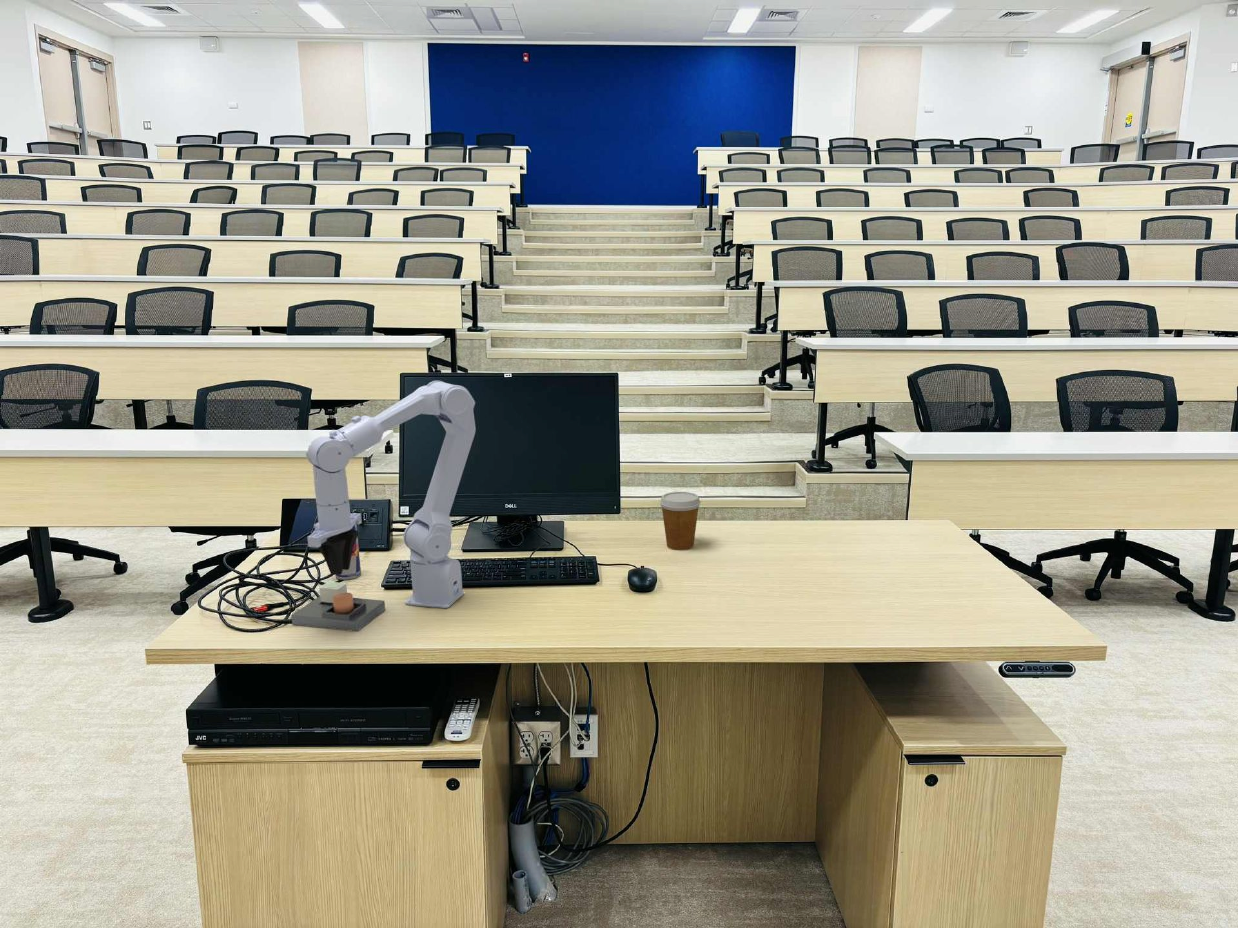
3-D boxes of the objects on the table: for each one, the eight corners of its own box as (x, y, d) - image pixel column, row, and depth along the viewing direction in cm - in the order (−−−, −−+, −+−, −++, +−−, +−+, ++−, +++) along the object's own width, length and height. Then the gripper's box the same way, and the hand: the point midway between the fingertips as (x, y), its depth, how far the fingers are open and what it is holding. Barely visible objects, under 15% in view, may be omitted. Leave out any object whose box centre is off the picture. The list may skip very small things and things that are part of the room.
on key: (347, 597, 170) (346, 582, 170) (339, 603, 167) (337, 588, 167) (329, 595, 171) (328, 581, 171) (321, 601, 168) (319, 586, 168)
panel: (385, 610, 170) (384, 595, 169) (357, 631, 161) (356, 616, 160) (322, 604, 173) (321, 590, 173) (292, 624, 164) (290, 609, 163)
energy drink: (353, 581, 185) (348, 527, 182) (331, 579, 186) (325, 526, 183) (365, 572, 190) (360, 520, 187) (343, 570, 191) (338, 519, 189)
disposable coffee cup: (673, 536, 210) (673, 489, 207) (707, 543, 204) (708, 494, 201) (652, 547, 202) (651, 498, 199) (686, 555, 197) (686, 504, 194)
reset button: (357, 607, 165) (356, 593, 164) (347, 615, 162) (345, 600, 161) (341, 606, 166) (339, 591, 165) (330, 613, 163) (328, 599, 162)
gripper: (335, 490, 166) (342, 556, 170) (289, 512, 153) (298, 583, 156) (368, 492, 165) (374, 559, 168) (324, 514, 151) (332, 586, 154)
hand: (340, 571), depth 162 cm, fingers closed
